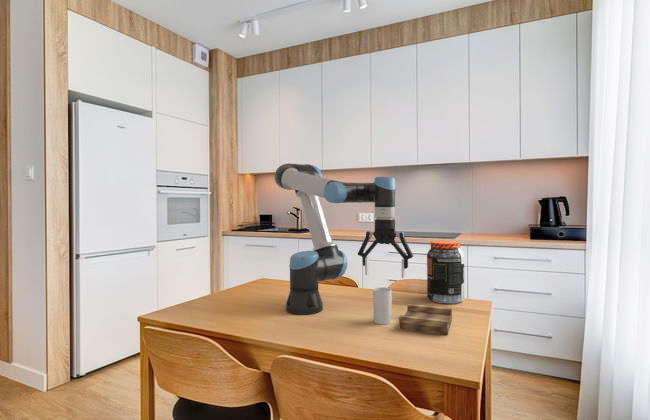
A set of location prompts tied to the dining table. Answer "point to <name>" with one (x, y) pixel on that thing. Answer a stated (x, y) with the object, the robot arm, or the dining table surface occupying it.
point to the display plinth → (426, 328)
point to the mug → (382, 305)
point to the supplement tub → (445, 272)
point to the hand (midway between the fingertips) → (384, 276)
